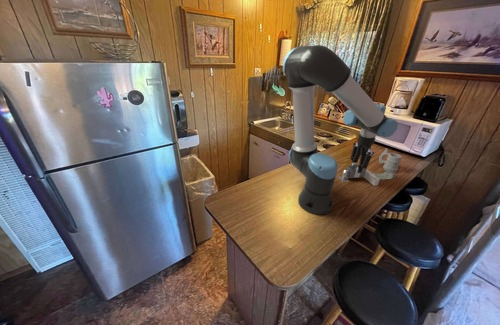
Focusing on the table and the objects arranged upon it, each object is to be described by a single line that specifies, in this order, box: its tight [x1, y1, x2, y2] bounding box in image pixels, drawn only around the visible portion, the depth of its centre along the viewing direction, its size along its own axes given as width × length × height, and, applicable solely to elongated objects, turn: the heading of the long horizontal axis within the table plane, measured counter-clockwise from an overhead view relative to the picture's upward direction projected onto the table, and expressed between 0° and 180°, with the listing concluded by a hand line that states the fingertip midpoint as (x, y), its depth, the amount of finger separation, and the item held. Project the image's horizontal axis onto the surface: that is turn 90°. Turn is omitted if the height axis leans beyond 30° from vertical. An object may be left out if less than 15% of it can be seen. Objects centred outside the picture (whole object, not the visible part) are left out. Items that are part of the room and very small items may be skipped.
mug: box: [378, 148, 403, 173], centre depth 121 cm, size 8×12×12 cm, turn 31°
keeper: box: [367, 169, 397, 181], centre depth 114 cm, size 14×6×3 cm, turn 98°
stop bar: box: [346, 164, 368, 179], centre depth 110 cm, size 9×4×7 cm, turn 98°
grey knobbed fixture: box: [337, 168, 350, 183], centre depth 110 cm, size 4×5×6 cm
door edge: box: [363, 168, 381, 187], centre depth 112 cm, size 2×16×4 cm, turn 8°
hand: (354, 174), depth 111 cm, fingers closed on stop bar, 3 cm apart
